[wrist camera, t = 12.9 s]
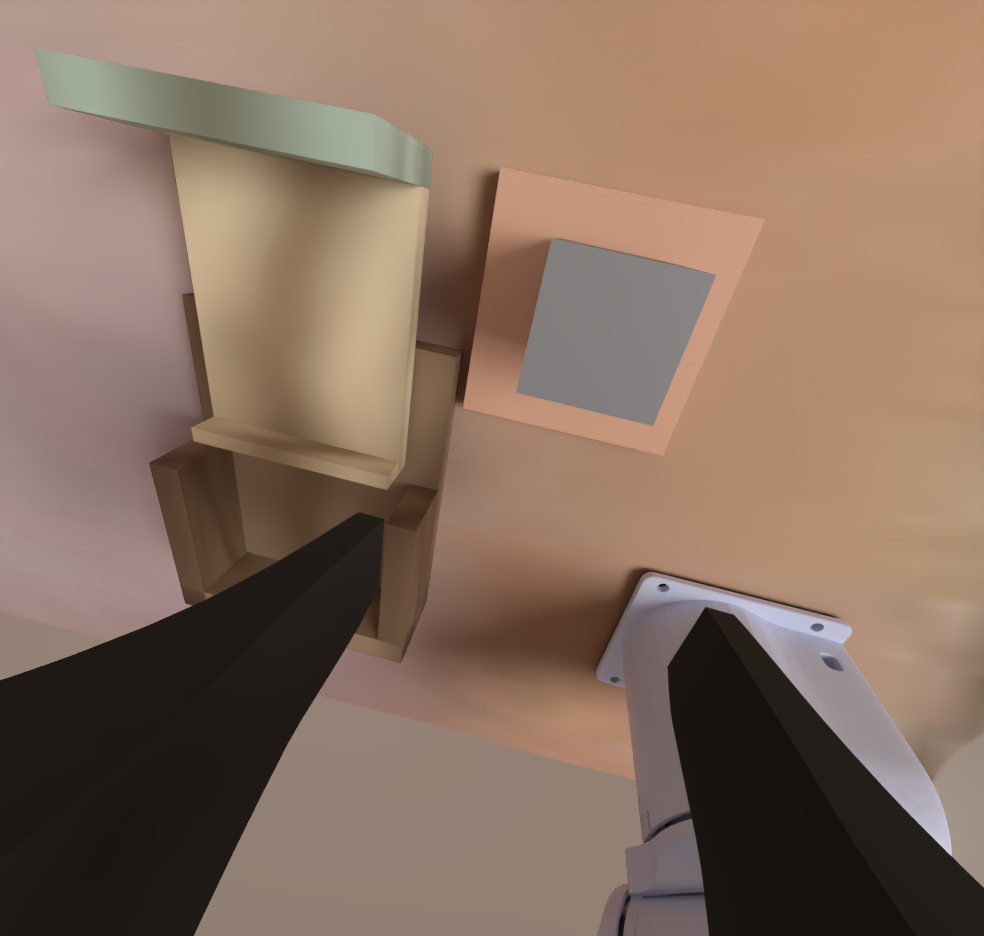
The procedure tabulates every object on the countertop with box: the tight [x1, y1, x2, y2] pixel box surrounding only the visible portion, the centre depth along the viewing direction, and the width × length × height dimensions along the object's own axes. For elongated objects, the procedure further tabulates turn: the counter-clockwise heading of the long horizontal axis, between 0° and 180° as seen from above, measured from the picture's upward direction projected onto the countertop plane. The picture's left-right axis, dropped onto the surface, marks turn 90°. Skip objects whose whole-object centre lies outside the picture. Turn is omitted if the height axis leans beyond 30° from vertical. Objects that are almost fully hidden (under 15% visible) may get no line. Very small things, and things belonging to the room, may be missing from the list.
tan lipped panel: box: [34, 48, 433, 490], centre depth 14 cm, size 8×11×4 cm
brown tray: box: [149, 293, 463, 663], centre depth 19 cm, size 11×14×4 cm
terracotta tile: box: [463, 167, 765, 456], centre depth 15 cm, size 8×8×1 cm
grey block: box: [516, 238, 716, 426], centre depth 12 cm, size 4×4×5 cm
